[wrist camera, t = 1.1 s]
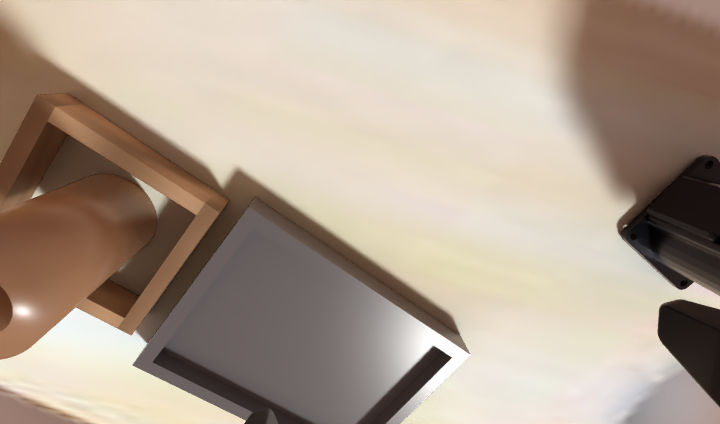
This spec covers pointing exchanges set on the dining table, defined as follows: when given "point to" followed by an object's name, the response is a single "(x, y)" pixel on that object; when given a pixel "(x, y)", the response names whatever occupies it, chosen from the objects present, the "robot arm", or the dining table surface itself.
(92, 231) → the bottle
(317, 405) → the tray
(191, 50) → the dining table surface
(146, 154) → the stand
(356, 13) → the dining table surface
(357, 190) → the dining table surface
